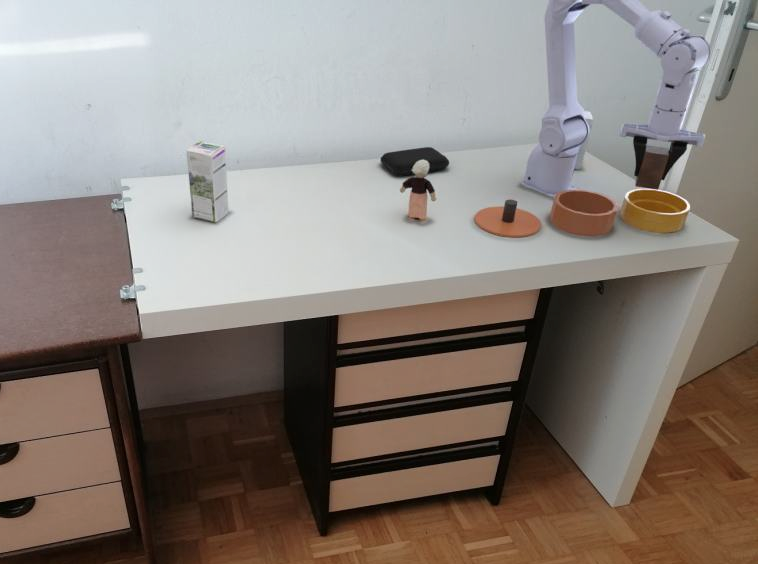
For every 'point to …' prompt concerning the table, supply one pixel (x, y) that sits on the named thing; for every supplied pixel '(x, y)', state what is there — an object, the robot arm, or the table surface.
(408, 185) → the grandmother figurine
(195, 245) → the table surface
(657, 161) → the walnut block
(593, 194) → the pot
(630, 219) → the bowl
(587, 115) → the cosmetic box
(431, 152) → the carrying case
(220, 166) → the syrup box
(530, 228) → the lid
